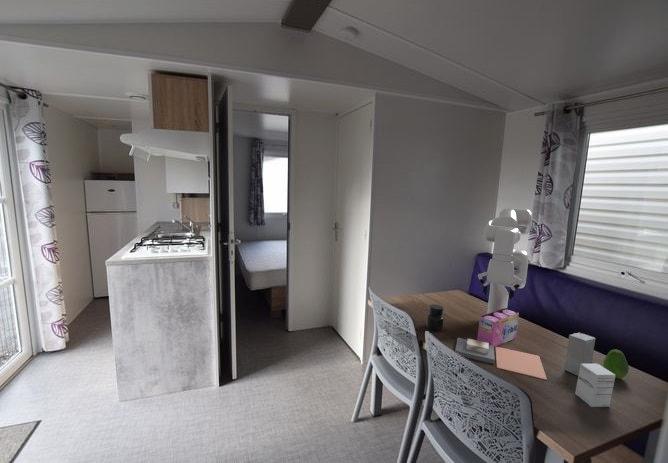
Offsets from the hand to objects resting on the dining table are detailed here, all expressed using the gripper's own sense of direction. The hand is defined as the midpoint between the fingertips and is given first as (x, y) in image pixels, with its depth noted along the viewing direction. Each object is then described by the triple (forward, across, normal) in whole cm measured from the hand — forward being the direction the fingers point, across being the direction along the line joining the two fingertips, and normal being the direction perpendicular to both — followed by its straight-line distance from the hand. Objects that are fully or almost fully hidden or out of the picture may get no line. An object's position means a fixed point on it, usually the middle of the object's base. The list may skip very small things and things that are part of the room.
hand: (497, 296), depth 141 cm
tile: (+27, +5, -3) cm, 28 cm away
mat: (+29, -12, -3) cm, 31 cm away
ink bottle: (+29, +26, -21) cm, 44 cm away
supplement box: (+29, -33, +15) cm, 47 cm away
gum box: (+29, -4, -22) cm, 37 cm away
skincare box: (+29, -34, -6) cm, 45 cm away
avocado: (+29, -47, -8) cm, 56 cm away
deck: (+29, +6, -3) cm, 30 cm away
